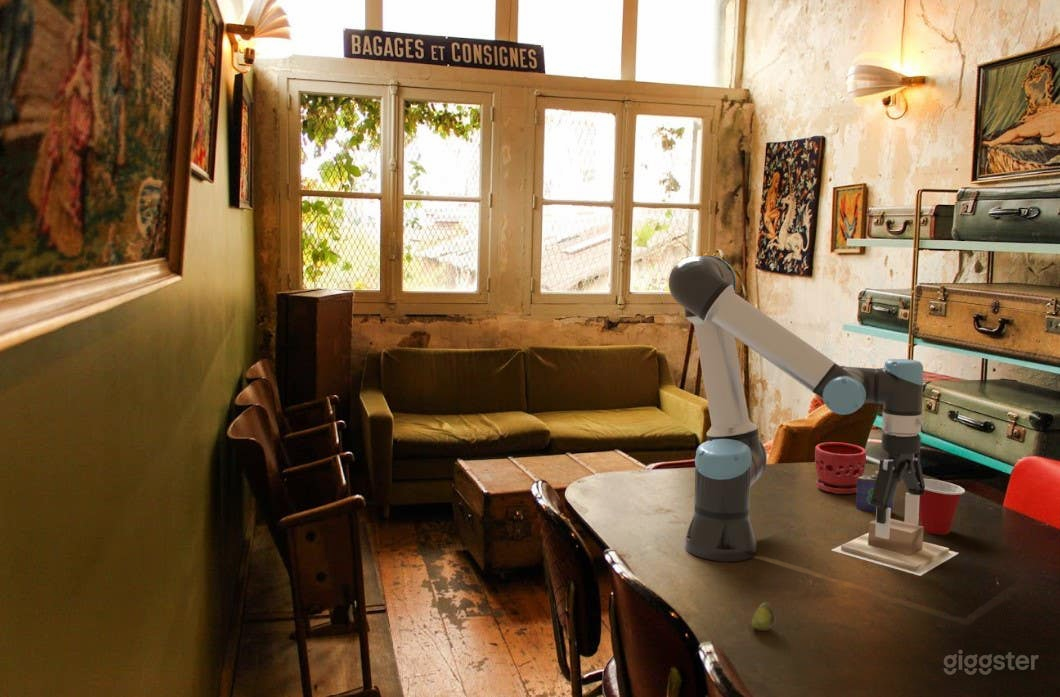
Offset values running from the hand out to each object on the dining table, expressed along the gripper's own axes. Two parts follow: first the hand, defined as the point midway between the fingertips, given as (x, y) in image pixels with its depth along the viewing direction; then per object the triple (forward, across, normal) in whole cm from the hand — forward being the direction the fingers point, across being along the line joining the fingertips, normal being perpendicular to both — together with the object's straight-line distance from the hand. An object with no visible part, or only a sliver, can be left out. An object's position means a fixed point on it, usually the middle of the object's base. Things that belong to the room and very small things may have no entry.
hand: (897, 530), depth 178 cm
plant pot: (+6, +38, +33) cm, 51 cm away
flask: (+6, +26, +17) cm, 32 cm away
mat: (+6, 0, 0) cm, 6 cm away
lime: (+6, -52, -1) cm, 52 cm away
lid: (+5, 0, 0) cm, 5 cm away
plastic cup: (+6, +21, 0) cm, 22 cm away
